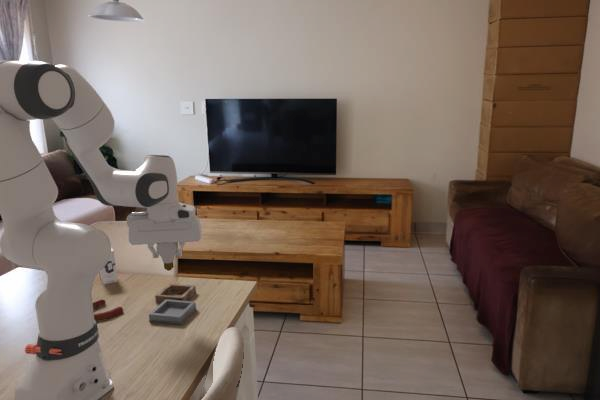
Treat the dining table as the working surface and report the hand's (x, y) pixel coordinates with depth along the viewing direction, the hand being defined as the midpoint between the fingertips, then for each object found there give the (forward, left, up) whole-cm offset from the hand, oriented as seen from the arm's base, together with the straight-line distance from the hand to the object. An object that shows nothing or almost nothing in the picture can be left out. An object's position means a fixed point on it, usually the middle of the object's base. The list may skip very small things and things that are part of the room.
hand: (167, 256), depth 133 cm
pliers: (-6, +26, -20) cm, 33 cm away
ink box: (+21, +37, -19) cm, 47 cm away
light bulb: (0, 0, -4) cm, 4 cm away
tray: (0, 0, -19) cm, 19 cm away
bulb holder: (+12, +5, -19) cm, 23 cm away
